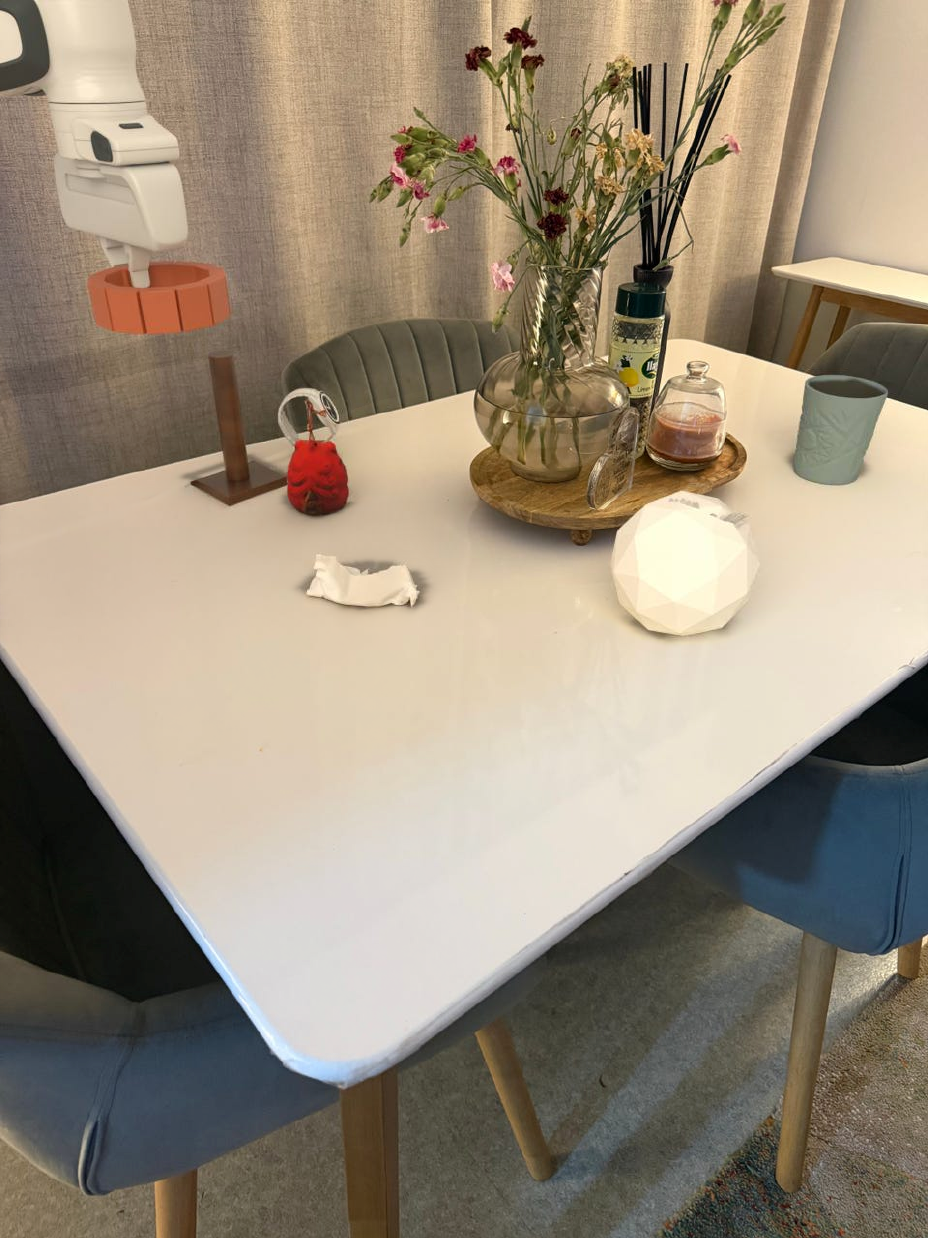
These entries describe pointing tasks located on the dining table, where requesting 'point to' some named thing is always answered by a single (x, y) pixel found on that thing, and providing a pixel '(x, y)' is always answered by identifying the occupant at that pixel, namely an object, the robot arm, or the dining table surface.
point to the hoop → (160, 298)
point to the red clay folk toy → (316, 474)
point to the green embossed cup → (836, 427)
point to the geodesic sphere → (684, 564)
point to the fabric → (362, 584)
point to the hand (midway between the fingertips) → (132, 284)
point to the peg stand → (234, 442)
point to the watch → (319, 403)
